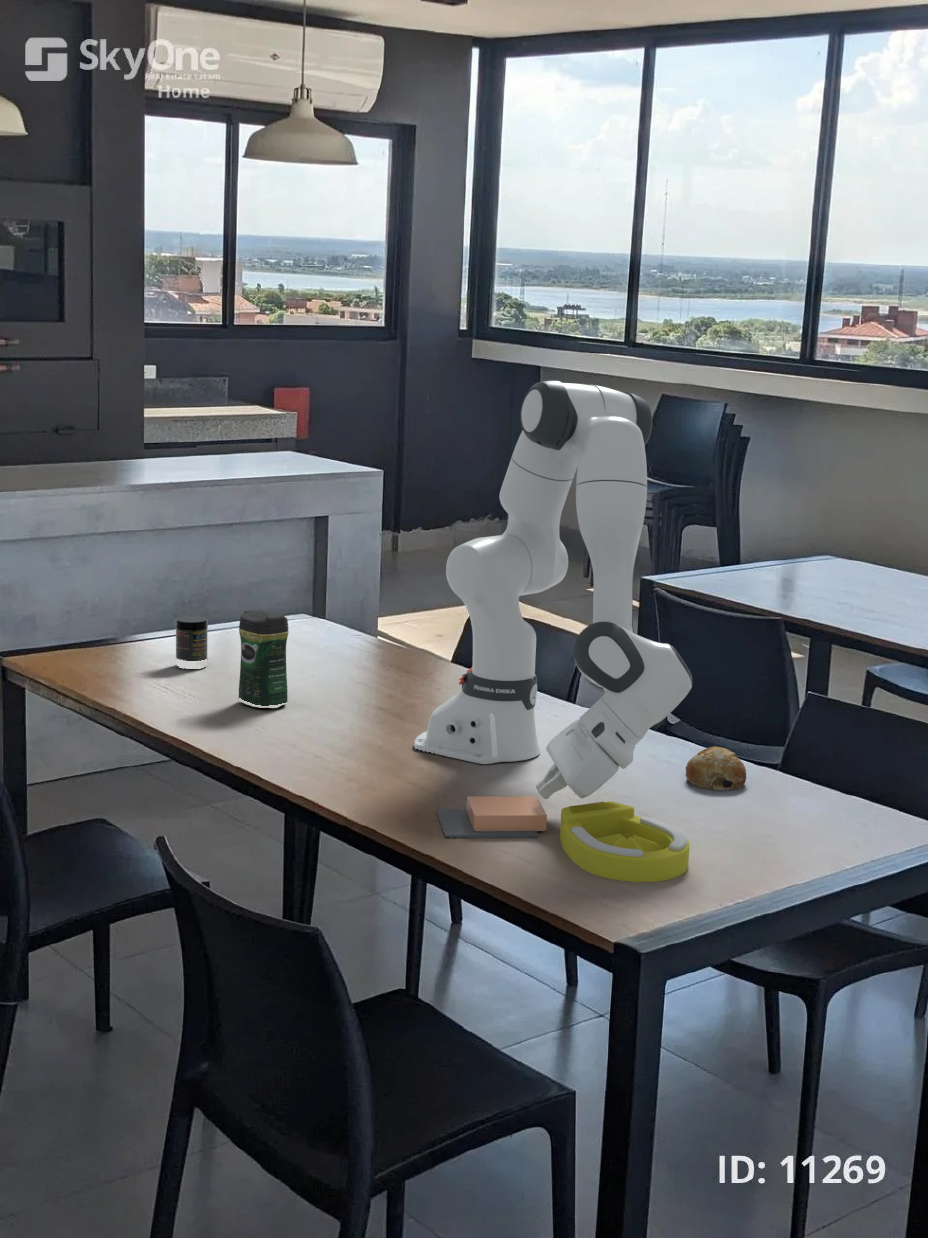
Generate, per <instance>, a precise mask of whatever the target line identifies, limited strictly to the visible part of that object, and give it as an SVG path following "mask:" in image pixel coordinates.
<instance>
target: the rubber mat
mask: <svg viewBox="0 0 928 1238" xmlns="http://www.w3.org/2000/svg"><path fill="white" fill-rule="evenodd" d="M436 814H437V816H438V820H439V823H440V826H441V830H442V829H443V830H442V832H444V833H443V836H444V835H445V836H444V838H445V837H449V838H448V839H451V838H452V839H454V838H453V837H456V838H457V839H460V838H461V839H466V838H468V839H470V838H473V839H476V838H480V839H481V838H482V839H483V838H538V837H539V834H538V831H474V830H473V827H472V824H471V822H470V819H469V816H468V814H467V808H436ZM464 837H465V838H464ZM456 838H455V839H456Z"/></svg>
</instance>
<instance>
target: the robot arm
mask: <svg viewBox="0 0 928 1238" xmlns="http://www.w3.org/2000/svg"><path fill="white" fill-rule="evenodd" d="M519 416H520V417H519V419H520V426H521V429H522V430H521V432H520V435H519V437H518V440H517V442H516V444H515V447H514V450H513V452H512V455H511V458H510V460H509V461H510V462H509V464H508V467H507V470H506V473H505V476H504V479H503V480H502V485H501V488H500V491H499V501H500V505H501V506H502V508H503V510H504V511H505V512H506V513H507V514H508V519H507V526H506V529H505V531H503V533H502V534H500V535H492V536H484V537H482V536H481V537H476V538H473V539H471V540H469V541H466V542H464V543H461V544H460V545H457V546H456V547H454V548H453V549H452V550H451V552H450V553H449V555H448V557H447V560H446V566H445V575H446V579H447V583H448V586H449V588H450V589H451V591H453V593H454V594H455V595H456V596H457V597H459V598H460V600H461V601H462V602H463V604H464V606H465V608H466V610H467V612H468V615H469V619H470V623H471V624H470V625H471V631H472V667H471V668H469V669H468V670H466V673H463V674H462V675H461V677H460V678H458V680H459V682H458V685H459V686H460V685H461V691H459V692H458V693H456V694H455V695H453V696H452V697H450V698H449V699H447V700H446V701H445V702H443V703H441V704H440V705H439V706H438V707H437V708H435V709H434V711H433V712H431V713H432V714H431V715H430V718H429V721H428V725H427V730H426V731H424V732H422V733H420V734H419V735H417V737H416V738H415V739H414V741H413V748H414V747H415V748H416V749H419V750H418V751H420V750H422V751H421V752H425V751H426V752H425V753H429V752H431V754H434V753H435V754H434V755H438V756H445V757H448V758H452V759H458V760H462V761H466V762H471V763H475V764H481V765H490V764H495V763H496V764H497V763H502V762H503V763H504V762H506V763H507V762H519V761H526V760H530V759H533V758H535V757H537V756H538V755H539V754H540V753H541V749H540V745H539V741H538V736H537V729H536V722H535V721H536V718H535V706H536V703H537V696H538V695H537V694H538V683H537V681H538V679H537V677H538V676H537V674H536V673H535V672H536V651H537V650H536V648H537V634H536V631H535V629H534V628H533V626H532V625H531V624H530V623H528V622H527V621H526V620H524V617H523V615H522V613H521V609H520V607H521V606H520V597H521V596H527V595H532V594H534V595H535V594H539V593H541V592H544V591H547V590H548V589H550V588H552V587H555V586H556V585H558V584H559V583H561V582H562V581H563V580H564V578H565V576H566V574H567V573H568V568H569V555H568V552H567V549H566V547H565V545H564V543H563V542H562V541H561V538H560V537H561V535H560V523H561V516H562V512H563V510H564V506H565V503H566V501H567V497H568V495H569V491H570V489H571V487H572V483H573V480H574V477H575V474H576V479H575V481H576V482H575V506H576V516H577V522H578V528H579V532H580V534H581V538H582V540H583V542H584V545H585V547H586V550H587V553H588V556H589V559H590V563H591V566H592V567H591V569H592V574H593V588H592V589H593V596H592V597H593V599H592V601H593V602H592V603H593V604H592V623H591V624H589V625H587V626H586V627H585V628H583V629H582V631H580V633H579V634H578V635H577V637H576V640H575V642H574V647H573V656H574V661H575V665H576V667H577V669H578V670H579V672H580V673H581V675H582V676H583V677H584V679H585V681H586V682H587V683H588V684H589V685H590V686H591V687H592V688H594V689H595V690H597V691H600V692H602V693H604V694H603V695H602V696H601V697H600V698H599V699H598V700H597V701H596V702H595V703H594V704H593V705H591V706H590V707H589V709H587V710H586V711H585V712H584V713H583V714H582V715H581V716H579V719H576V720H574V721H573V722H571V723H570V724H569V725H567V726H566V727H565V728H564V729H562V730H561V731H560V732H559V733H557V735H555V736H554V737H553V738H552V739H551V740H550V741H549V742H548V744H547V745H546V747H545V749H546V751H547V753H548V755H549V756H550V758H551V759H552V761H553V763H554V764H553V765H551V766H550V768H549V769H548V770H547V772H546V774H545V775H544V777H543V778H542V780H540V781H539V782H538V783H537V784H536V785H535V788H536V789H537V792H538V794H539V795H540V796H541V797H542V798H543V799H545V800H547V799H549V798H550V797H551V796H552V795H553V794H555V793H557V792H558V791H561V790H562V789H563V790H564V789H565V788H566V787H567V786H568V787H569V789H571V791H572V792H574V793H575V794H576V795H577V796H578V798H580V799H585V798H587V797H589V796H592V794H594V793H595V792H596V791H598V789H600V788H601V787H602V786H603V785H605V784H606V783H607V782H608V781H609V780H610V779H612V778H613V777H614V776H615V775H616V773H617V772H618V771H619V770H620V768H621V769H622V770H624V769H627V767H628V766H629V765H631V764H632V763H633V760H634V751H635V747H636V745H638V743H640V742H641V740H643V738H644V737H645V736H646V733H647V732H648V731H649V730H650V729H651V728H652V727H654V726H655V725H657V724H659V723H660V722H662V721H663V720H664V719H666V718H667V717H668V716H669V715H670V714H671V713H672V712H673V711H674V710H675V708H677V707H678V706H679V705H680V704H681V702H683V700H684V699H685V698H686V697H687V696H688V695H689V692H690V691H691V689H692V687H693V676H692V672H691V670H690V668H688V666H687V664H686V662H685V661H684V659H683V658H682V656H681V655H680V653H679V652H678V650H677V649H676V648H675V647H674V646H673V645H671V644H670V643H663V642H658V641H654V640H651V639H649V638H645V637H643V636H641V635H638V634H636V633H635V631H634V622H633V606H634V605H633V599H634V597H633V593H634V591H633V590H634V589H633V588H634V584H633V583H634V578H633V577H634V568H635V561H636V557H637V552H638V547H639V543H640V540H641V536H642V531H643V526H644V521H645V515H646V507H647V500H648V471H647V470H648V469H647V467H648V466H647V454H646V447H645V446H646V444H647V443H648V442H649V439H650V437H651V434H652V430H653V415H652V410H651V408H650V405H649V404H648V402H647V401H646V400H645V399H643V398H642V397H640V396H638V395H636V394H634V393H631V392H629V391H622V392H621V391H619V390H617V389H612V388H609V387H606V386H602V385H601V386H600V385H597V384H585V383H575V382H574V383H573V382H571V383H570V382H569V383H568V382H562V381H559V380H544V381H543V380H542V381H538V382H536V383H534V384H533V385H532V386H531V387H530V388H529V389H528V390H527V392H526V394H525V395H524V398H523V400H522V402H521V407H520V415H519ZM415 748H414V749H415ZM416 749H415V750H416Z"/></svg>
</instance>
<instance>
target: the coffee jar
mask: <svg viewBox="0 0 928 1238" xmlns="http://www.w3.org/2000/svg"><path fill="white" fill-rule="evenodd" d="M288 622H289V620H288V617H286V616H285V615H284V614H279V613H275V612H272V611H268V610H263V609H259V608H258V609H251V610H244V611H243V613H242V614H241V615H240V619H239V624H238V627H239V628H238V631H239V638H240V668H239V682H238V683H239V684H238V699H239V698H241V699H242V700H244V701H247V702H250V703H252V704H255V705H261V706H269V705H278V704H282V703H286V702H287V703H288V701H289V700H288V698H289V697H288V678H287V677H288V676H287V675H288V674H287V672H288V671H287V641H288V637H289V623H288Z"/></svg>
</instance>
